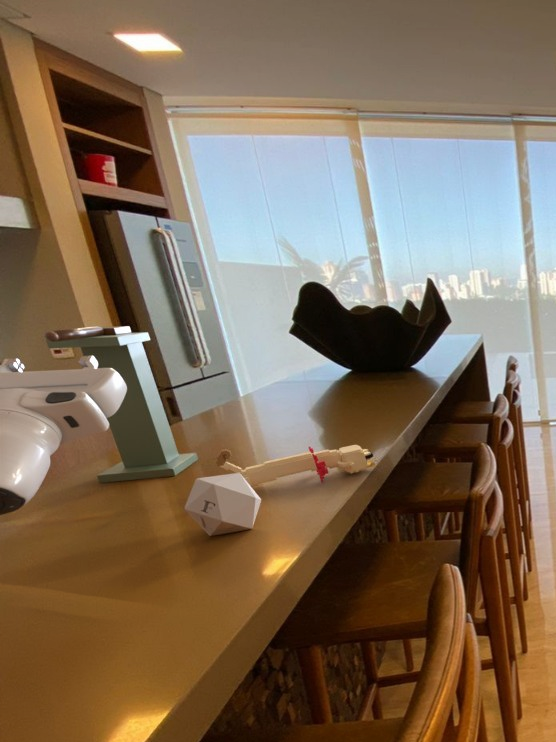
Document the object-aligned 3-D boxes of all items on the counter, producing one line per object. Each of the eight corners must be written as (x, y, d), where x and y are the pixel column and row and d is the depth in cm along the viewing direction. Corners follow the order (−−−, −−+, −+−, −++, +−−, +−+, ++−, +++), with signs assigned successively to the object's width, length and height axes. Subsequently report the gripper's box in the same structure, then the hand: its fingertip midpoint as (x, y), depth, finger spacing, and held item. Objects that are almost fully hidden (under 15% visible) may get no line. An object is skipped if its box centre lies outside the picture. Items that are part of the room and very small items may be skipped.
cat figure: (229, 508, 96) (383, 470, 108) (209, 459, 92) (370, 425, 104) (229, 492, 103) (372, 458, 116) (210, 446, 100) (360, 416, 112)
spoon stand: (95, 485, 104) (37, 339, 95) (130, 465, 116) (81, 333, 107) (172, 478, 108) (124, 336, 98) (198, 459, 120) (157, 331, 110)
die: (186, 536, 84) (159, 498, 76) (225, 491, 89) (204, 451, 81) (244, 554, 85) (224, 519, 77) (279, 508, 90) (263, 471, 82)
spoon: (68, 341, 89) (64, 331, 89) (33, 342, 88) (28, 332, 87) (131, 332, 108) (128, 323, 108) (103, 333, 107) (100, 324, 106)
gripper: (-55, 442, 80) (-17, 380, 88) (120, 429, 86) (140, 373, 94) (-92, 408, 75) (-49, 346, 83) (96, 397, 81) (120, 340, 89)
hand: (53, 360), depth 89 cm, fingers open, 8 cm apart
